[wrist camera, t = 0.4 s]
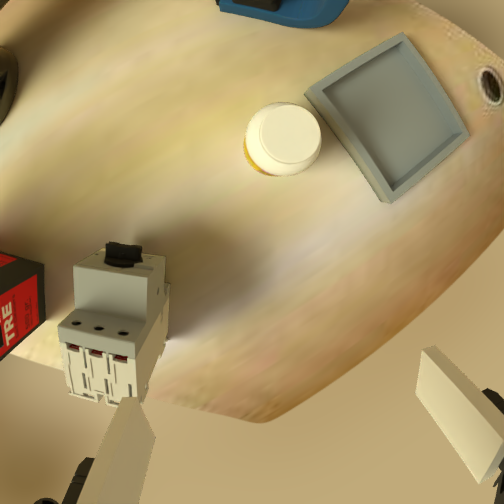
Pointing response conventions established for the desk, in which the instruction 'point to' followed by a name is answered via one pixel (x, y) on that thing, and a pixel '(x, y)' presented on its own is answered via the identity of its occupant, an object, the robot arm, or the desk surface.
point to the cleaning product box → (19, 300)
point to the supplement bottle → (282, 140)
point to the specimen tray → (390, 116)
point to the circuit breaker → (115, 324)
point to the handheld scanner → (287, 11)
